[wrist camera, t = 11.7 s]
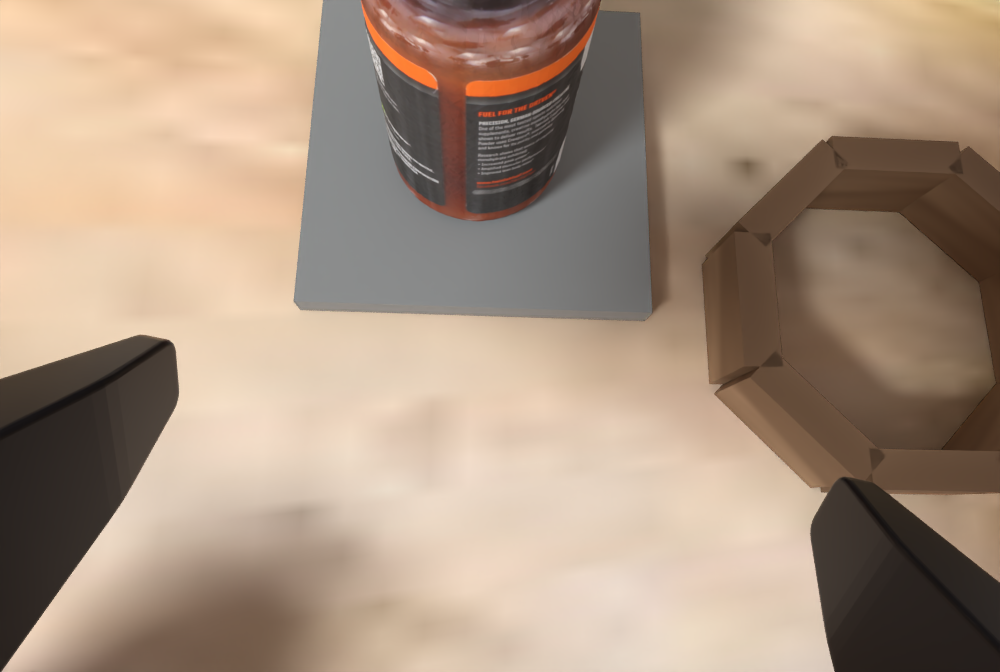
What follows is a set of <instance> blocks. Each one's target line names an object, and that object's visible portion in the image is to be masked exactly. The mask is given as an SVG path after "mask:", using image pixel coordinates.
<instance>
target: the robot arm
mask: <svg viewBox="0 0 1000 672" xmlns="http://www.w3.org/2000/svg"><path fill="white" fill-rule="evenodd" d="M178 396H179V384H178V371H177V359H176V350H175V347H174V344H173V343H172V342H171V341H169V340H167V339H162V338H157V337H152V336H147V335H137V336H134V337H130V338H127V339H124V340H121V341H118V342H115V343H112V344H109V345H105V346H102V347H99V348H96V349H93V350H90V351H87V352H84V353H80V354H77V355H74V356H71V357H68V358H65V359H62V360H58V361H55V362H52V363H49V364H46V365H43V366H40V367H37V368H33V369H30V370H27V371H24V372H21V373H18V374H15V375H11V376H8V377H5V378H2V379H0V672H1V671H2V670H3V669H4V667H5V666H6V664H7V663H8V662H9V660H10V659H11V657H12V656H13V655H14V653H15V652H16V651H17V649H18V648H19V646H20V645H21V644H22V642H23V641H24V639H25V638H26V637H27V635H28V634H29V632H30V631H31V630H32V628H33V627H34V625H35V624H36V623H37V621H38V620H39V618H40V617H41V616H42V614H43V613H44V611H45V610H46V609H47V607H48V606H49V604H50V603H51V602H52V600H53V599H54V597H55V596H56V595H57V593H58V592H59V590H60V589H61V588H62V586H63V585H64V583H65V582H66V581H67V579H68V578H69V576H70V575H71V574H72V572H73V571H74V569H75V568H76V567H77V565H78V564H79V562H80V561H81V560H82V558H83V557H84V555H85V554H86V553H87V551H88V550H89V548H90V547H91V546H92V544H93V543H94V541H95V540H96V539H97V537H98V536H99V534H100V533H101V532H102V530H103V529H104V527H105V526H106V525H107V523H108V522H109V520H110V519H111V518H112V516H113V515H114V513H115V512H116V510H117V509H118V507H119V506H120V504H121V503H122V501H123V500H124V498H125V496H126V495H127V493H128V491H129V490H130V488H131V486H132V485H133V483H134V481H135V479H136V477H137V476H138V474H139V472H140V470H141V468H142V467H143V465H144V463H145V461H146V459H147V458H148V456H149V454H150V452H151V450H152V449H153V447H154V445H155V443H156V442H157V440H158V438H159V436H160V434H161V433H162V431H163V429H164V427H165V425H166V424H167V422H168V420H169V418H170V416H171V415H172V413H173V411H174V409H175V407H176V404H177V401H178ZM810 535H811V543H812V550H813V556H814V563H815V569H816V576H817V582H818V589H819V595H820V602H821V608H822V615H823V621H824V627H825V632H826V638H827V643H828V647H829V651H830V655H831V659H832V663H833V667H834V671H835V672H1000V583H999V582H998V581H997V580H996V579H994V578H993V577H992V576H991V575H989V574H988V573H987V572H986V571H984V570H983V569H982V568H980V567H979V566H978V565H977V564H975V563H974V562H973V561H972V560H970V559H969V558H968V557H967V556H965V555H964V554H963V553H962V552H960V551H959V550H958V549H957V548H955V547H954V546H953V545H952V544H950V543H949V542H948V541H947V540H945V539H944V538H943V537H942V536H940V535H939V534H938V533H937V532H935V531H934V530H933V529H932V528H930V527H929V526H928V525H927V524H925V523H924V522H923V521H922V520H920V519H919V518H918V517H917V516H915V515H914V514H913V513H912V512H910V511H909V510H908V509H906V508H905V507H904V506H903V505H901V504H900V503H899V502H898V501H896V500H895V499H894V498H893V497H891V496H890V495H889V494H888V493H886V492H885V491H884V490H883V489H881V488H880V487H879V486H878V485H876V484H875V483H873V482H870V481H866V480H861V479H856V478H851V477H845V476H844V477H840V478H838V479H837V480H836V481H835V482H834V484H833V485H832V487H831V488H830V490H829V492H828V494H827V495H826V497H825V499H824V501H823V502H822V504H821V506H820V508H819V509H818V511H817V513H816V515H815V516H814V519H813V521H812V524H811V533H810Z"/></svg>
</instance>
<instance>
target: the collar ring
mask: <svg viewBox="0 0 1000 672" xmlns="http://www.w3.org/2000/svg"><path fill="white" fill-rule="evenodd" d="M805 208H814V209H839V210H863V211H888V212H900V213H901V214H902V215H903V216H904V217H905V218H906V219H908V220H909V221H910V222H911V223H912V224H913V225H914V226H916V227H917V228H918V229H919V230H920V231H921V232H922V233H924V234H925V235H926V236H927V237H928V238H929V239H930V240H932V241H933V242H934V243H935V244H936V245H937V246H938V247H940V248H941V249H942V250H943V251H944V252H945V253H946V254H948V255H949V256H950V257H951V258H952V259H953V260H954V261H956V262H957V263H958V264H959V265H960V266H961V267H962V268H964V269H965V270H966V271H967V272H968V273H969V274H970V275H972V276H973V277H974V278H975V279H976V280H977V281H979V284H980V290H981V296H982V302H983V308H984V314H985V320H986V326H987V332H988V338H989V343H990V349H991V355H992V361H993V367H994V373H995V379H996V385H995V386H994V387H993V388H992V389H991V391H990V392H989V393H988V394H987V395H986V397H985V398H984V399H983V400H982V401H981V403H980V404H979V405H978V406H977V407H976V409H975V410H974V411H973V412H972V413H971V415H970V416H969V417H968V418H967V420H966V421H965V422H964V423H963V424H962V426H961V427H960V428H959V429H958V430H957V432H956V433H955V434H954V435H953V436H952V438H951V439H950V440H949V441H948V442H947V444H946V445H945V446H944V447H943V448H942V450H919V449H878V448H877V447H876V446H875V445H874V444H873V443H872V442H871V441H870V440H869V439H868V438H867V437H866V436H865V435H864V434H863V433H862V432H860V431H859V430H858V429H857V428H856V427H855V426H854V425H853V424H852V423H851V422H850V421H849V420H848V419H847V418H846V417H845V416H844V415H842V414H841V413H840V412H839V411H838V410H837V409H836V408H835V407H834V406H833V405H832V404H831V403H830V402H829V401H828V400H827V399H825V398H824V397H823V396H822V395H821V394H820V393H819V392H818V391H817V390H816V389H815V388H814V387H813V386H812V385H811V384H810V383H809V382H807V381H806V380H805V379H804V378H803V377H802V376H801V375H800V374H799V373H798V372H797V371H796V370H795V369H794V368H793V367H792V366H790V365H789V364H788V363H787V362H786V361H785V360H784V359H783V358H782V349H781V338H780V327H779V316H778V305H777V294H776V283H775V271H774V260H773V249H772V241H773V240H774V239H775V238H776V237H777V236H778V235H779V234H780V233H781V232H782V231H783V230H784V229H785V228H786V227H787V226H788V225H789V224H790V223H791V222H792V221H793V220H794V219H795V218H796V217H797V216H798V215H799V214H800V213H801V212H802V211H803V210H804V209H805ZM706 257H707V258H708V259H707V260H706V261H705V262H704V263H703V264H702V271H703V287H704V304H705V320H706V336H707V352H708V369H709V384H723V385H722V386H721V387H720V388H719V389H718V390H717V391H716V392H715V393H714V394H715V395H716V396H717V397H718V398H719V399H720V400H721V401H722V402H723V403H724V404H725V405H726V406H727V407H728V408H729V409H730V410H731V411H732V412H733V413H734V414H735V415H736V416H737V417H738V418H739V419H741V420H742V421H743V422H744V423H745V424H746V425H747V426H748V427H749V428H750V429H751V430H752V431H753V432H754V433H755V434H756V435H757V436H758V437H759V438H760V439H761V440H762V441H763V442H764V443H765V444H766V445H767V446H768V447H769V448H770V449H771V450H772V451H773V452H774V453H776V454H777V455H778V456H779V457H780V458H781V459H782V460H783V461H784V462H785V463H786V464H787V465H788V466H789V467H790V468H791V469H792V470H793V471H794V472H795V473H796V474H797V475H798V476H799V477H800V478H801V479H802V480H803V481H804V482H805V483H806V484H807V485H808V486H809V487H810V488H814V487H821V492H829V490H830V488H831V487H832V485H833V484H834V482H835V481H836V480H837V479H838V478H840V477H844V476H845V477H851V478H856V479H861V480H866V481H870V482H873V483H875V484H876V485H878V486H879V487H880V488H881V489H883V490H884V491H885V492H886V493H888V494H936V495H954V494H986V493H1000V172H999V171H997V170H996V169H995V168H994V167H993V166H991V165H990V164H989V163H988V162H987V161H985V160H984V159H983V158H982V157H981V156H980V155H978V154H977V153H976V152H975V151H974V150H972V149H971V148H970V147H969V146H968V147H967V148H965V149H964V150H963V151H961V152H960V150H959V144H958V142H947V141H925V140H904V139H882V138H860V137H839V136H832V137H831V138H830V139H829V140H828V141H827V142H825V141H823V140H821V141H820V142H819V143H818V144H817V145H816V146H815V147H814V148H813V149H812V150H811V151H810V152H809V153H808V154H807V155H806V156H805V157H804V158H803V159H802V160H801V161H800V162H799V163H798V164H797V165H796V166H795V167H794V168H793V169H792V170H791V171H790V172H789V173H787V174H786V175H785V176H784V177H783V178H782V179H781V180H780V181H779V182H778V183H777V184H776V185H775V186H774V187H773V188H772V189H771V190H770V191H769V192H768V193H767V194H766V195H765V196H764V197H763V198H762V199H761V200H760V201H759V202H758V203H757V204H756V205H755V206H754V207H753V208H752V209H751V210H750V211H749V212H747V213H746V214H745V215H744V216H743V217H742V218H741V219H740V220H739V221H738V222H737V223H736V224H735V225H734V226H733V227H732V229H731V230H730V231H729V232H728V233H727V234H726V235H725V236H724V237H723V238H722V239H721V240H720V241H719V242H718V243H717V244H716V245H715V246H714V247H713V248H712V249H711V250H710V251H709V252H708V254H707V255H706Z"/></svg>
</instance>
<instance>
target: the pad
mask: <svg viewBox="0 0 1000 672" xmlns="http://www.w3.org/2000/svg"><path fill="white" fill-rule="evenodd" d="M294 302H295V303H296V305H297V306H298V307H299V308H300V310H319V311H351V312H382V313H414V314H445V315H476V316H508V317H539V318H570V319H602V320H633V321H645V320H646V319H647V318H648V317H649V316H650V315H651V314H652V295H651V271H650V246H649V222H648V198H647V174H646V149H645V125H644V101H643V76H642V52H641V28H640V13H634V12H615V11H598V14H597V18H596V22H595V26H594V31H593V34H592V38H591V42H590V46H589V50H588V54H587V58H586V61H585V66H584V69H583V73H582V76H581V80H580V85H579V89H578V92H577V96H576V100H575V103H574V108H573V112H572V116H571V119H570V123H569V127H568V131H567V134H566V138H565V142H564V146H563V150H562V154H561V158H560V161H559V163H558V165H557V168H556V171H555V174H554V175H553V177H552V179H551V181H550V182H549V184H548V186H547V187H546V189H545V190H544V191H543V192H542V194H541V195H540V196H539V197H538V198H537V199H536V200H535V201H533V202H532V203H531V204H529V205H528V206H527V207H525V208H524V209H522V210H520V211H518V212H516V213H514V214H511V215H508V216H506V217H502V218H498V219H494V220H487V221H470V220H461V219H457V218H453V217H450V216H447V215H444V214H442V213H439V212H437V211H435V210H433V209H431V208H430V207H428V206H427V205H425V204H424V203H423V202H421V201H420V200H419V199H418V198H416V196H415V195H414V194H413V193H412V192H411V191H410V190H409V189H408V187H407V186H406V184H405V183H404V181H403V180H402V178H401V176H400V174H399V172H398V170H397V167H396V165H395V161H394V158H393V155H392V151H391V147H390V144H389V137H388V132H387V128H386V123H385V119H384V114H383V109H382V103H381V99H380V94H379V89H378V84H377V79H376V75H375V70H374V64H373V60H372V55H371V50H370V45H369V40H368V36H367V32H366V27H365V22H364V13H363V9H362V3H361V0H323V7H322V17H321V27H320V38H319V48H318V58H317V68H316V78H315V89H314V99H313V109H312V119H311V130H310V140H309V150H308V160H307V170H306V181H305V191H304V201H303V211H302V221H301V232H300V242H299V252H298V262H297V273H296V283H295V293H294Z"/></svg>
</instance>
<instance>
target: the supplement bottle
mask: <svg viewBox="0 0 1000 672" xmlns="http://www.w3.org/2000/svg"><path fill="white" fill-rule="evenodd" d="M600 2H601V0H361V3H362V9H363V13H364V22H365V27H366V32H367V36H368V40H369V45H370V50H371V55H372V60H373V64H374V70H375V75H376V79H377V84H378V89H379V94H380V99H381V103H382V109H383V114H384V119H385V123H386V128H387V132H388V137H389V144H390V147H391V151H392V155H393V158H394V161H395V165H396V167H397V170H398V172H399V174H400V176H401V178H402V180H403V181H404V183H405V184H406V186H407V187H408V189H409V190H410V191H411V192H412V193H413V194H414V195H415V196H416V198H418V199H419V200H420V201H421V202H423V203H424V204H425V205H427V206H428V207H430V208H431V209H433V210H435V211H437V212H439V213H442V214H444V215H447V216H450V217H453V218H457V219H461V220H470V221H487V220H494V219H498V218H502V217H506V216H508V215H511V214H514V213H516V212H518V211H520V210H522V209H524V208H525V207H527V206H528V205H529V204H531V203H532V202H533V201H535V200H536V199H537V198H538V197H539V196H540V195H541V194H542V192H543V191H544V190H545V189H546V187H547V186H548V184H549V182H550V181H551V179H552V177H553V175H554V174H555V171H556V168H557V165H558V163H559V161H560V158H561V154H562V150H563V146H564V142H565V138H566V134H567V131H568V127H569V123H570V119H571V116H572V112H573V108H574V103H575V100H576V96H577V92H578V89H579V85H580V80H581V76H582V73H583V69H584V66H585V61H586V58H587V54H588V50H589V46H590V42H591V38H592V34H593V31H594V26H595V22H596V18H597V14H598V10H599V6H600Z"/></svg>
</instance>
